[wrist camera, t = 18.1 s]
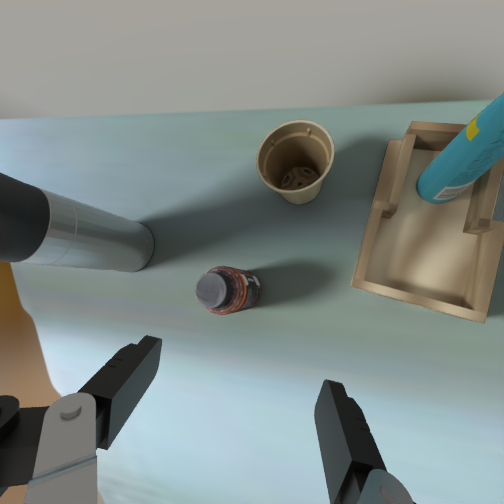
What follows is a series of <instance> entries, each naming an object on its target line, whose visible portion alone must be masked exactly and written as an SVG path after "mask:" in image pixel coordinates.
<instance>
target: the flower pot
mask: <svg viewBox="0 0 504 504" xmlns="http://www.w3.org/2000/svg"><path fill="white" fill-rule="evenodd" d="M334 155H335V147H334V142H333V139H332V137H331V135H330V133H329V132H328V131H327V130H326V129H325V128H324V127H323V126H321V125H320V124H318V123H316V122H313V121H308V120H294V121H289V122H286V123H284V124H281V125H280V126H278V127H276V128H275V129H273V130H272V131H271V132H270V133H269V134H268V135H267V136H266V137H265V138H264V139H263V141H262V142H261V144H260V146H259V149H258V152H257V155H256V169H257V172H258V175H259V177H260V178H261V180H262V181H263V182H264V183H265V184H266V185H267V186H268V187H269V188H271V189H273V190H275V191H277V192H279V193H280V194H281V195H282V196H283V197H284V198H285V199H286V200H287V201H288V202H290V203H293V204H304V203H307V202H309V201H311V200H313V199H314V198H315V197H316V196H317V195H318V193H319V191H320V189H321V185H322V181H323V179H324V177H325V176H326V175H327V174H328V172H329V170H330V168H331V166H332V164H333V160H334ZM304 170H308V171H310V172H311V173H307V172H305V171H304ZM288 176H289V177H290V178H289V180H288V181H287V183H284V181H285V180H286V178H287V177H288ZM299 183H301V184H302V185H299Z"/></svg>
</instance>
